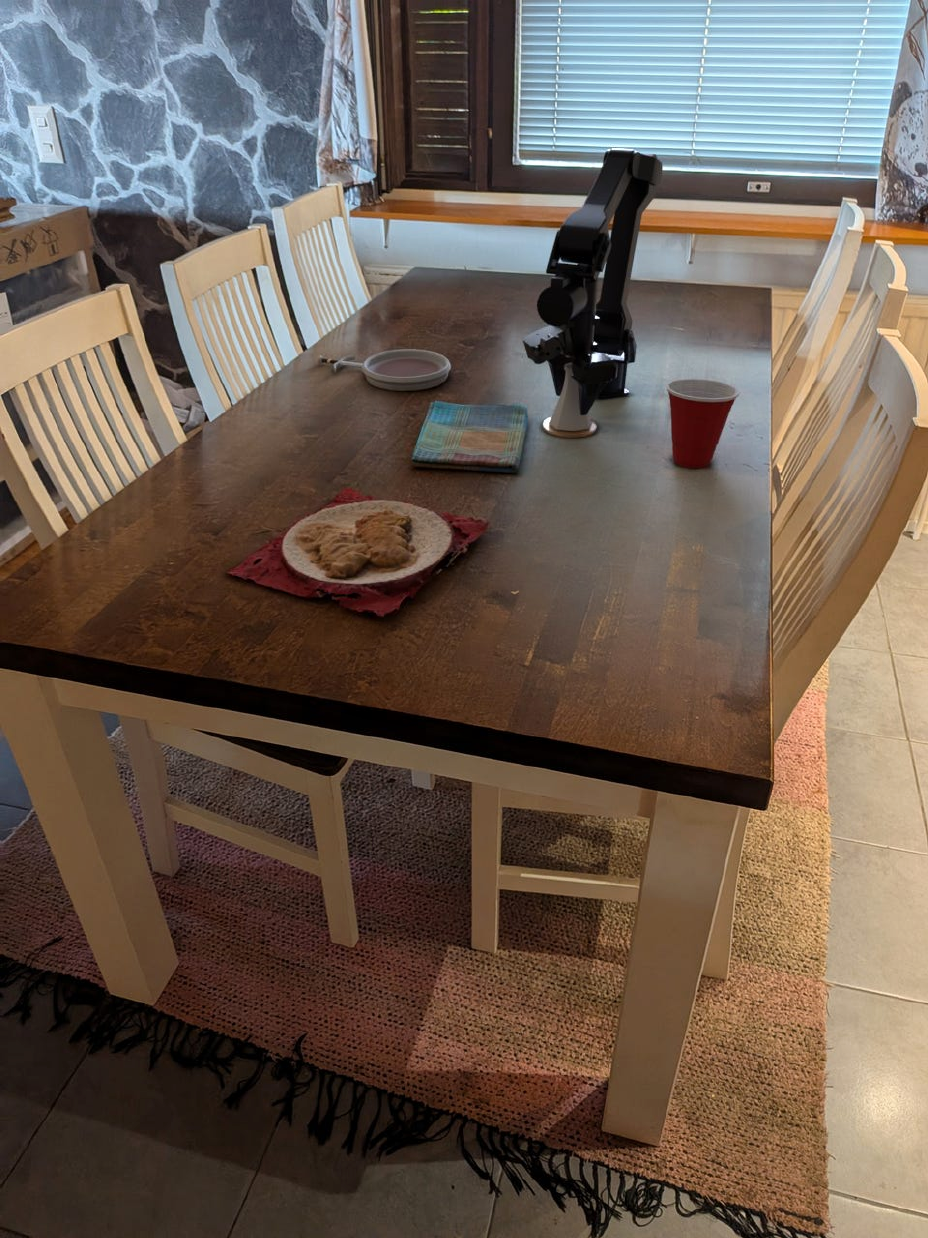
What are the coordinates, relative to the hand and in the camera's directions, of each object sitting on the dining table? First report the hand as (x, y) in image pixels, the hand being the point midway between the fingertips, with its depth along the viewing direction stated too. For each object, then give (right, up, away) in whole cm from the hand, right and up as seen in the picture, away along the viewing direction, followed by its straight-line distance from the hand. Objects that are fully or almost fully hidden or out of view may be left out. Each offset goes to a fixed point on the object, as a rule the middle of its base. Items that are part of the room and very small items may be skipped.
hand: (571, 404), depth 151 cm
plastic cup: (+18, -11, -9) cm, 23 cm away
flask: (0, -3, +2) cm, 4 cm away
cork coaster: (0, -3, +2) cm, 4 cm away
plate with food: (-31, -27, -32) cm, 52 cm away
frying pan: (-34, +12, +25) cm, 44 cm away
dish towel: (-16, -7, -3) cm, 18 cm away
